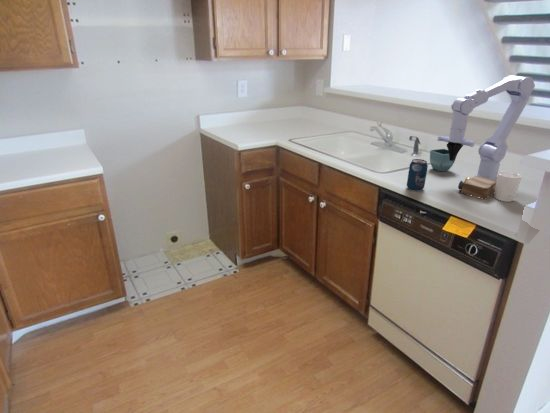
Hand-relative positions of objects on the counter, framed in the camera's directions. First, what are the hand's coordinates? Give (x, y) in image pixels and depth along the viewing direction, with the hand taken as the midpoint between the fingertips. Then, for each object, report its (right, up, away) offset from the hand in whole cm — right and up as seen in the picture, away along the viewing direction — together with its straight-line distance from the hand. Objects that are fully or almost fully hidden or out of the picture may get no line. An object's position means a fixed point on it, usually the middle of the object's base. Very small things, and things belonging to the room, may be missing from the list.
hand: (452, 160), depth 162 cm
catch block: (+8, -14, -7) cm, 17 cm away
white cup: (+14, -17, -13) cm, 26 cm away
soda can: (-17, -13, -4) cm, 21 cm away
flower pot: (+4, -2, +20) cm, 21 cm away
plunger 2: (+8, -12, -4) cm, 15 cm away
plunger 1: (+4, -14, -8) cm, 17 cm away
